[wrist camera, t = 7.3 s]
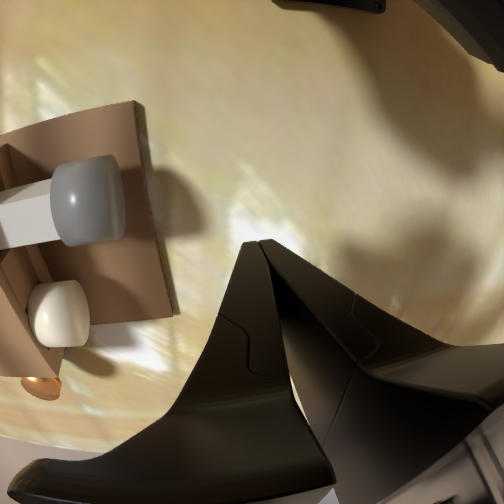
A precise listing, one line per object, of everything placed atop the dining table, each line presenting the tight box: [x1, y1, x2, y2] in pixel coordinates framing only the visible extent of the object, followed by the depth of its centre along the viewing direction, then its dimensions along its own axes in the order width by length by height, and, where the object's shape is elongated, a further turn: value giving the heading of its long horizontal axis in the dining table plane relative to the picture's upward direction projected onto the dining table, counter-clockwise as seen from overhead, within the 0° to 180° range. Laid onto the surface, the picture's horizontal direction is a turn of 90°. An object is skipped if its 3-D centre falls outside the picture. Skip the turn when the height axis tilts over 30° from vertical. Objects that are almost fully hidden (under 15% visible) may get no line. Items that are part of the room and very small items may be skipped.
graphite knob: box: [0, 154, 126, 250], centre depth 13 cm, size 9×4×4 cm, turn 92°
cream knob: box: [25, 280, 90, 348], centre depth 16 cm, size 9×4×4 cm, turn 92°
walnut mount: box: [0, 100, 173, 378], centre depth 15 cm, size 13×14×6 cm
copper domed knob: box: [21, 350, 65, 400], centre depth 20 cm, size 3×3×4 cm
